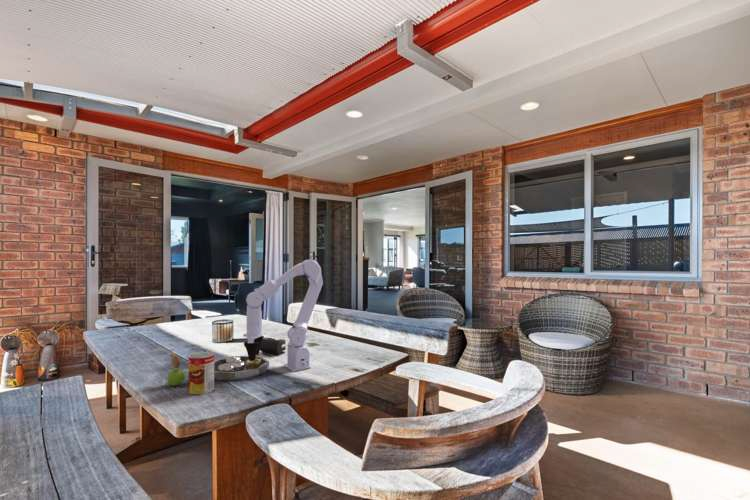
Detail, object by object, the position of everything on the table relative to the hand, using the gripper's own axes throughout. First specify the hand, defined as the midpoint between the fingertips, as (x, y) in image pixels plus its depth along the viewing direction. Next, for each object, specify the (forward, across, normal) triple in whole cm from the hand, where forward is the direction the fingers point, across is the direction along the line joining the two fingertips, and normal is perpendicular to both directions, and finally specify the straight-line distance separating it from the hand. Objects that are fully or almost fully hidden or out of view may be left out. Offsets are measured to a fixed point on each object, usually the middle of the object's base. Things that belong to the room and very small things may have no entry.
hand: (254, 357), depth 142 cm
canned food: (+5, +19, -14) cm, 24 cm away
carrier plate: (+5, 0, -6) cm, 8 cm away
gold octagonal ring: (+4, 0, 0) cm, 4 cm away
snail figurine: (+5, +13, -24) cm, 28 cm away
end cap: (+6, -25, +4) cm, 26 cm away
